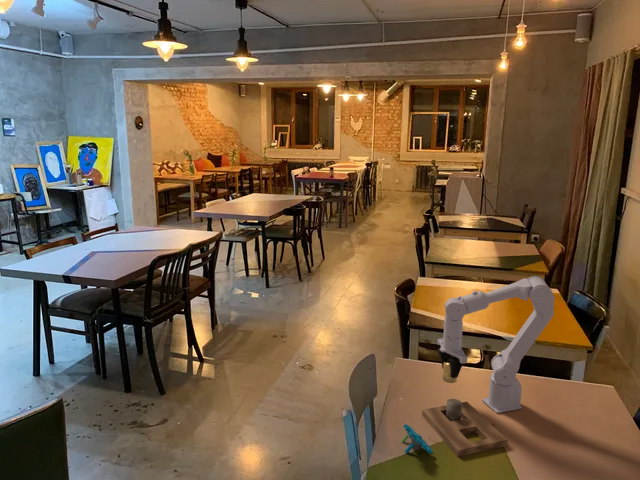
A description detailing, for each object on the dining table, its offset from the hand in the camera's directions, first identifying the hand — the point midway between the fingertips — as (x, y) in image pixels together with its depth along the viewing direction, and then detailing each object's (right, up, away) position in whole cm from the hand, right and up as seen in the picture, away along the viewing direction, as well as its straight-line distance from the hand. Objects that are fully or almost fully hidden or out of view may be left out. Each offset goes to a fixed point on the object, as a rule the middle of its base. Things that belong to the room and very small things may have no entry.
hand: (450, 373), depth 154 cm
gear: (-16, -15, -23) cm, 31 cm away
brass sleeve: (0, -2, 0) cm, 2 cm away
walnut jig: (0, -13, -14) cm, 19 cm away
